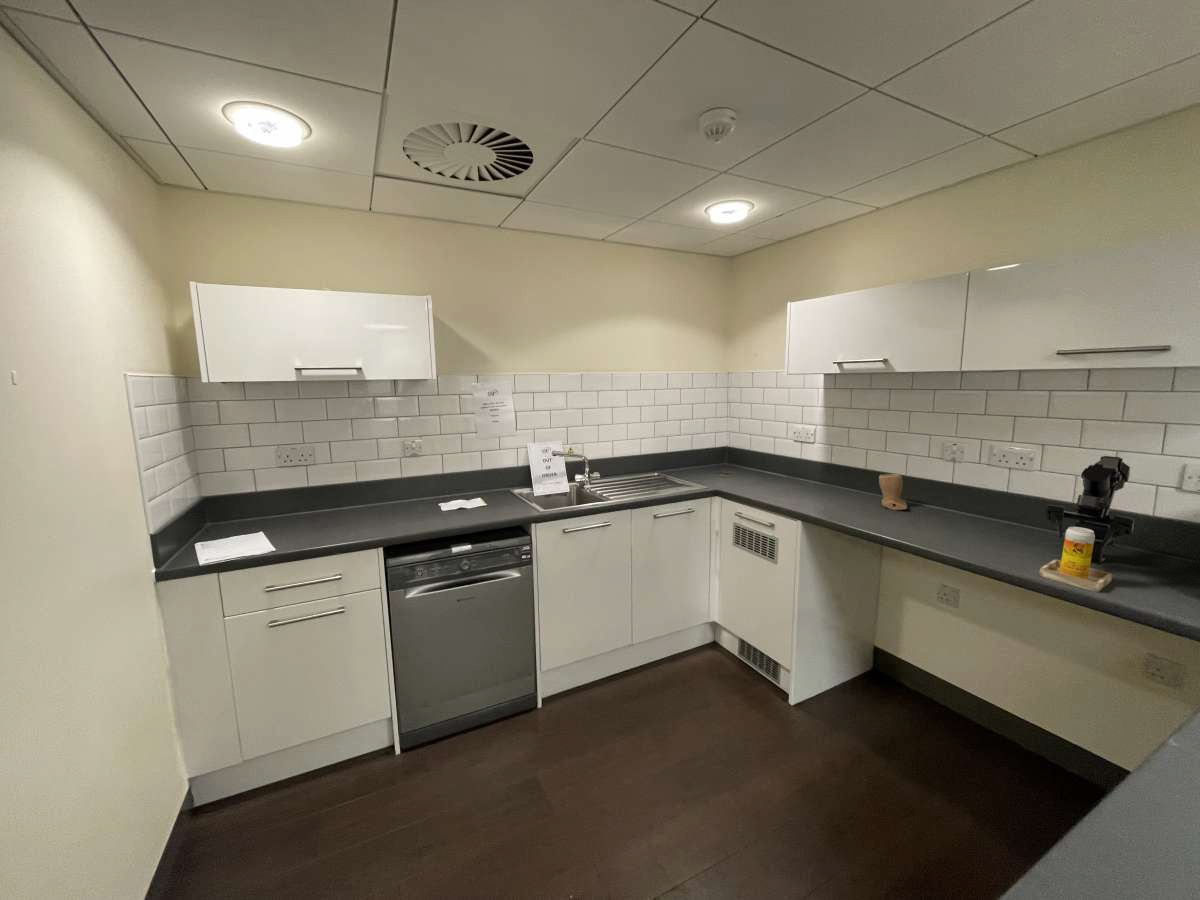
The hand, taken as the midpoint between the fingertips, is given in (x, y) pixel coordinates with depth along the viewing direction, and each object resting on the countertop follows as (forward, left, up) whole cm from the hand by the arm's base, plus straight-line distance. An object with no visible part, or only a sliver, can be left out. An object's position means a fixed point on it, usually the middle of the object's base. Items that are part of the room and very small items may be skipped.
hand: (1080, 542), depth 144 cm
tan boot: (-32, -70, -11) cm, 78 cm away
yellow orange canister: (+3, 0, -11) cm, 11 cm away
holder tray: (+1, 0, -11) cm, 11 cm away
